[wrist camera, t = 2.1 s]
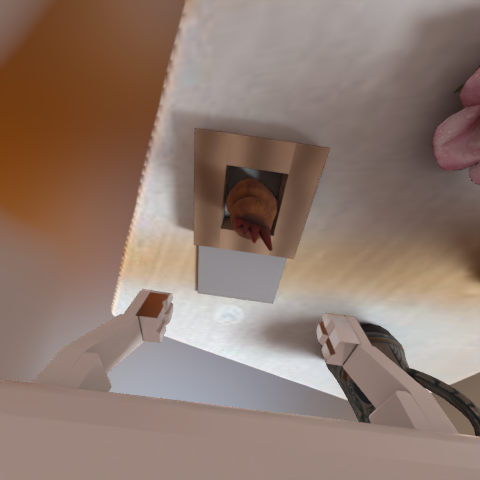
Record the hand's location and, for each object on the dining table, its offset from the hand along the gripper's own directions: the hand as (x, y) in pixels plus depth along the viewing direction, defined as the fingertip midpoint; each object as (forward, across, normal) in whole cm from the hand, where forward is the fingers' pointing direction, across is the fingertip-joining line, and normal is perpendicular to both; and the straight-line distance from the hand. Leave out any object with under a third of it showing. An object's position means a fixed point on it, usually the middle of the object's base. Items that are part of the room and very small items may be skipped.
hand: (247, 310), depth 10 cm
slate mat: (+22, 0, +16) cm, 27 cm away
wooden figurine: (+22, 0, 0) cm, 22 cm away
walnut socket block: (+22, 0, 0) cm, 22 cm away
